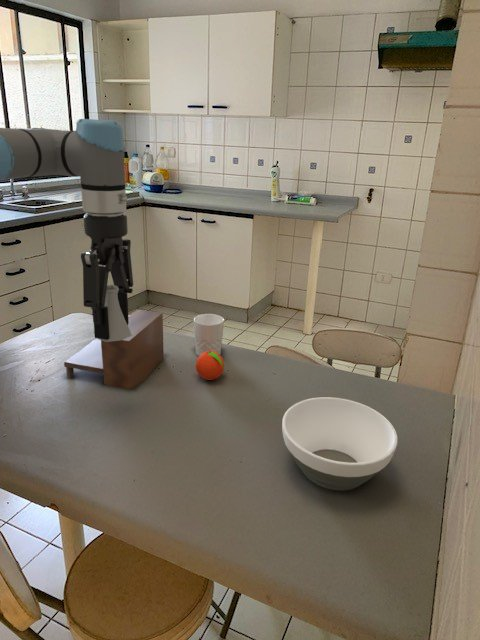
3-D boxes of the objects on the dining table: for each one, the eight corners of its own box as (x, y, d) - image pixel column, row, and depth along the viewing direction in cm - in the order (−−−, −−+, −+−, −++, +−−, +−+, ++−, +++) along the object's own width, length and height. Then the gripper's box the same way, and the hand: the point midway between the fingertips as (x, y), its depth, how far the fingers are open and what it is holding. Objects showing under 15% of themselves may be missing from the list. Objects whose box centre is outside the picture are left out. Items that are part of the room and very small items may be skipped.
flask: (87, 333, 92) (83, 285, 88) (120, 325, 97) (118, 279, 93) (103, 346, 87) (100, 296, 83) (138, 337, 92) (136, 289, 88)
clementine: (232, 380, 113) (234, 353, 110) (212, 390, 108) (212, 362, 105) (210, 368, 118) (211, 343, 115) (189, 377, 113) (189, 351, 110)
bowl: (408, 474, 84) (418, 430, 80) (348, 532, 71) (356, 483, 67) (321, 426, 96) (326, 386, 93) (256, 468, 83) (258, 423, 80)
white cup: (222, 360, 122) (223, 325, 118) (192, 359, 122) (192, 324, 118) (223, 347, 129) (224, 314, 125) (195, 346, 129) (195, 313, 125)
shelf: (66, 381, 109) (60, 330, 104) (105, 349, 125) (101, 304, 120) (132, 393, 105) (129, 341, 100) (163, 358, 121) (162, 312, 116)
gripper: (93, 224, 73) (102, 354, 82) (148, 207, 91) (151, 316, 100) (52, 220, 75) (65, 348, 83) (114, 204, 93) (120, 311, 101)
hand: (112, 330), depth 91 cm, fingers closed on flask, 7 cm apart
